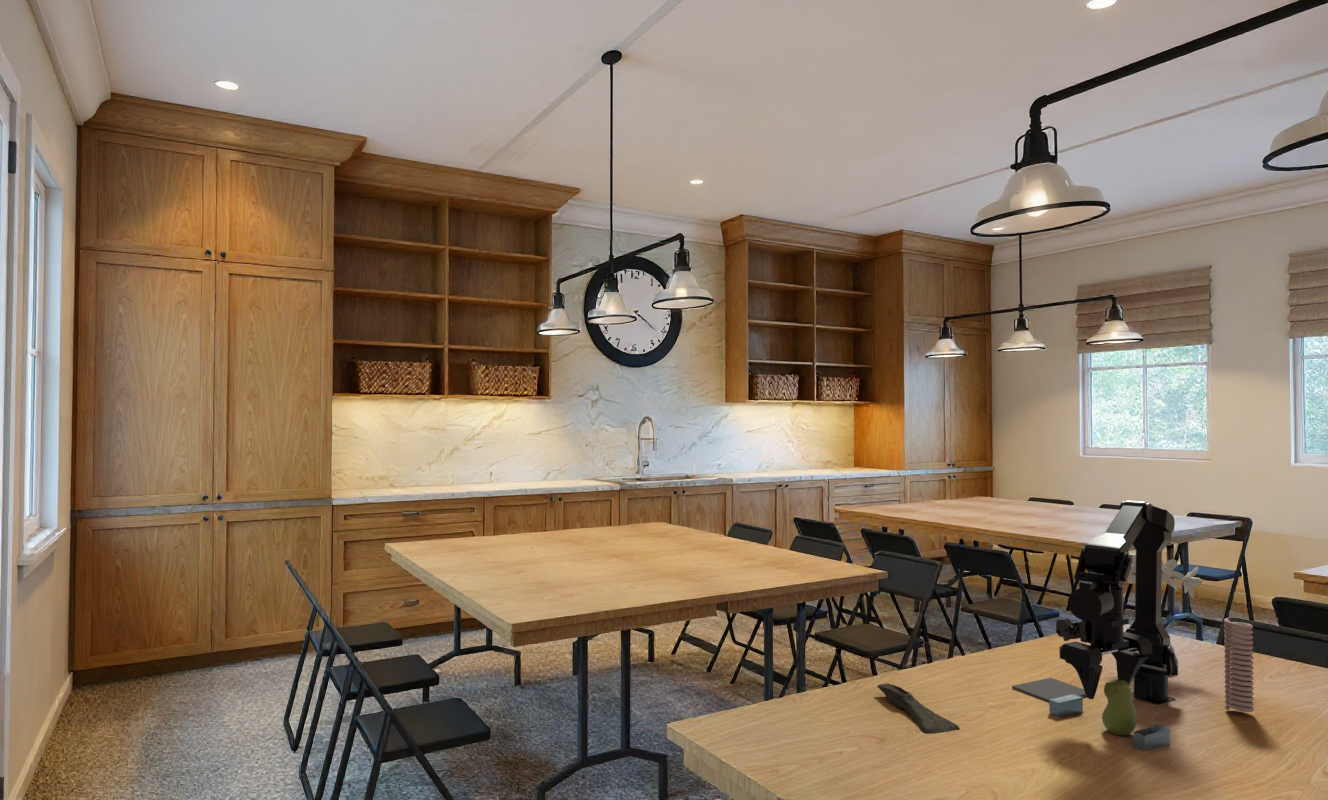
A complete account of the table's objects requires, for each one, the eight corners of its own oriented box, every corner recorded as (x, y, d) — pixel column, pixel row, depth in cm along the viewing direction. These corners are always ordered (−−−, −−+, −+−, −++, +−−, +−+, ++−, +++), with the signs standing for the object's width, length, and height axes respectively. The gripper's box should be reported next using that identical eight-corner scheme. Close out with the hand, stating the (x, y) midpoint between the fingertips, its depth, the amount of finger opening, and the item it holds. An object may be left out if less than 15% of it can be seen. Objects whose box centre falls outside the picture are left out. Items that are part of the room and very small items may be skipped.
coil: (1250, 709, 157) (1249, 618, 157) (1256, 717, 153) (1255, 624, 153) (1222, 705, 159) (1221, 616, 159) (1227, 713, 154) (1226, 621, 155)
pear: (1123, 742, 141) (1122, 686, 141) (1095, 731, 146) (1095, 677, 146) (1142, 736, 144) (1142, 681, 144) (1114, 726, 148) (1114, 673, 149)
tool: (962, 737, 145) (963, 720, 145) (927, 742, 143) (927, 726, 142) (895, 689, 165) (896, 675, 165) (863, 693, 162) (864, 679, 162)
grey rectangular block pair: (1073, 709, 157) (1073, 693, 157) (1169, 745, 140) (1169, 728, 140) (1049, 715, 154) (1049, 699, 154) (1144, 753, 137) (1144, 735, 137)
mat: (1050, 680, 174) (1050, 677, 174) (1092, 695, 165) (1092, 692, 165) (1012, 688, 169) (1012, 685, 169) (1053, 704, 160) (1053, 701, 160)
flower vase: (1211, 671, 179) (1211, 561, 180) (1130, 670, 180) (1129, 561, 180) (1175, 653, 192) (1174, 551, 193) (1099, 653, 193) (1099, 551, 193)
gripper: (1098, 596, 159) (1099, 674, 158) (1034, 606, 151) (1034, 688, 150) (1153, 609, 149) (1154, 692, 148) (1087, 621, 140) (1088, 708, 140)
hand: (1106, 694), depth 147 cm, fingers open, 9 cm apart
